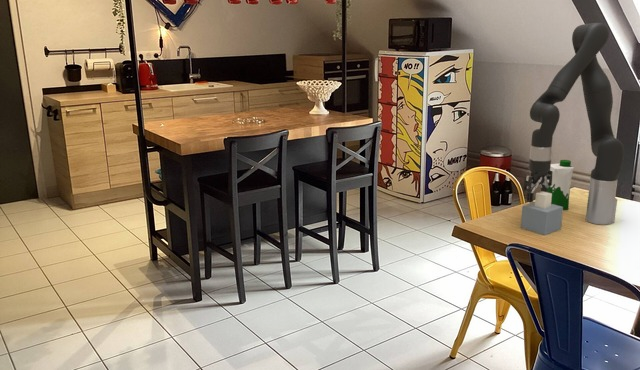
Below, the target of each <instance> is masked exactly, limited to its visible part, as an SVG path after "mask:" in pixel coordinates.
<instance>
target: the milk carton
mask: <svg viewBox="0 0 640 370" xmlns="http://www.w3.org/2000/svg"><path fill="white" fill-rule="evenodd" d="M571 164H572V161H571V160H569V159H560V162H559V163H551V167H550V171H552V172H553V173H552V185H551V186H549V188H548V189H547V193H551V194H552V198H551V204H554V205H558V206H562V207H563V211H567V210H569V207H570V206H569V204H570V203H569V202H570V194H571V193H570V191H571V186H572V185H571V183H572V176H573V172H574V170H575V167H573V166H572V165H571ZM547 181H548V182H549V180H547Z"/></svg>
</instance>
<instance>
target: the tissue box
mask: <svg viewBox="0 0 640 370" xmlns="http://www.w3.org/2000/svg"><path fill="white" fill-rule="evenodd" d="M551 198H552V194H551V193H547V192H543V191H541V190H540V191H538V192H536V193H535V200H534V201H533V202H531V203H530V202H528V203H527V204H523V205H522V208H521V218H520V219H521V220H520V229H521V228H522V229H524V230H527V231H530V232H533V233H537V234H539V235H542V236H546V235H549V234H552V233H555V232H557V231H560V230H562V229H561V228H562V221H563V212H564V210H563V207H562V206H558V205H554V204H551Z"/></svg>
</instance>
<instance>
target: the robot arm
mask: <svg viewBox="0 0 640 370" xmlns="http://www.w3.org/2000/svg"><path fill="white" fill-rule="evenodd" d="M609 35H610V30H609V27H607V25H606V24H604V23H602V22H592V23H590V22H589V23H584V24H579V25H578V26H577V27H576V28H575V29H574V30H573V32H572V37H571V42H572V47H573V50H574V53H575V54H574V56H573V57H572V58H571V59H570V60H569V61H568V62H567V63H566V64H565V65H564V66H563V67H562V68H561V69H560V70H559V71H558V72H557V73H556V75H555V76H554V78H553V79H552V81H551V82H550V84H549V86H548V87H547V89H546V90H545V91H544V92H543V93H542V94H541V95H540V96H539V97H538V98H537V99H536V100H535V101H534V103H533V104H532V105H531V106H530V110H529V118H530V119H531V120H532V121H533V122H536V123H541V125H540V128H537V129H534V130H533V132H532V134H531V142H530V143H531V145H530V150H529V159H528V170H529V171H530V175H525V176H524V178H523V179H524V180H523V186H522V187H523V188H522V191H523V192H526V199H525V200H526V202H527V203H532V202H534V193H535V190H536V189H537V188H538V186H540V187H541V188H540V192H541V191H543V192H547V189H548V188H549V186H551V185H552V173H553V172H552V171H550V167H551V164H552V158H553V157H552V156H553V155H552V154H553V138H554V137H553V136H554V133H555V131H556V129H557V126H558V123H559V120H560V110H559V108H558V106H557V105H555V104H556V103H560V102H561V103H562V102H563V101H565V100H566V98H567V96H569V94H570V92H571V90H572V88H573V87H574V85H575V83H576V81H577V80H578V79H579V77H580V80H581V87H582V92H583V97H584V104H585V109H586V113H587V118H588V123H589V129H590V131H589V132H590V147H591V152H592V154H593V155H594V156H595V157H596V159H595V166H594V168H592V170H591V171H590V172H591V173H590V177H589V185H588V186H589V187H588V188H589V189H588V195H587V204H586V213H585V221H587V222H588V223H591V224H594V225H602V226H603V225H611V224H614V223H615V221H616V212H617V207H618V206H617V205H618V199H617V198H616V195H617V185H618V179H619V175H620V173H621V172H622V165H623V161H624V155H625V148H624V145H623V142H622V141H621V140H619V139H618V138H615V135H614V131H613V128H612V122H611V116H612V112H613V111H612V110H613V106H614V105H613V104H614V98H613V90H612V85H611V82H610V81H611V80H610V79H609V77H608V76H607V74H606V72H605V71H604V70H603V68H602V67H601V65H600V63H599V60H598V58H597V55H598V53H599V52H600V51H601V50H602V49H603V48H604V46H605V45H606V43H607V42H608V40H609ZM547 180H549V182H548V181H547Z"/></svg>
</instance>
